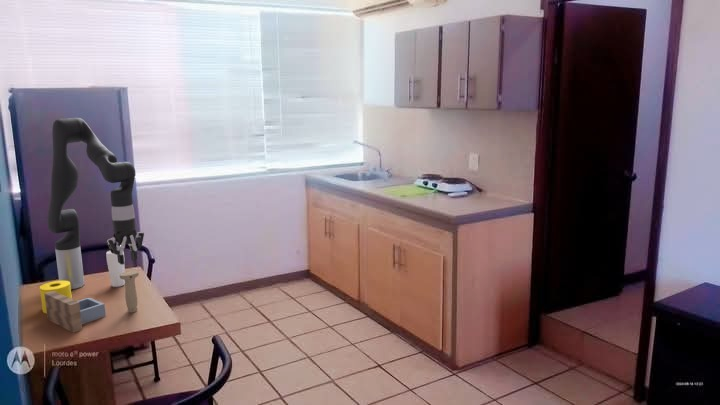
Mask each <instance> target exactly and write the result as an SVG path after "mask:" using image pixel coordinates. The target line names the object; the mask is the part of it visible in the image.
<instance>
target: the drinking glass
mask: <svg viewBox="0 0 720 405" xmlns="http://www.w3.org/2000/svg"><path fill="white" fill-rule="evenodd" d="M105 255H106V264H107V268H108V273H109V278H110V285H111V287H112V288H119V287H123V286H125V280H123V279H121V278H120V274H121V273H123V272H126V270H125V269H126V268H125V267H126V266H125V264H126V263H125V259H124V264H123V265H122V264H120V263H118V257H117V255H116V254H113V253H111V251H110V250H107V251H106V254H105ZM123 255H124V256H125V253H124V250H123Z"/></svg>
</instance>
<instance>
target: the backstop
mask: <svg viewBox="0 0 720 405" xmlns="http://www.w3.org/2000/svg"><path fill="white" fill-rule="evenodd" d="M44 295H45V302H46V310H47V313H46V316H47V320H49V322H50V321H51V322H52V323H54V324H56V325H58V326H59V327H62V328H64V329H66V330H67V331H70V332H72V333H73V334H74V333H76V332H80V331H82V330H83V324H82V322H81V313H80V305H79V302H77V301H78V300H75V299H73V298H72V299H70V298H68V297H66V296H64V295H61V294H59V293H57V292H55V291H51V292H47V293H44Z"/></svg>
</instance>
